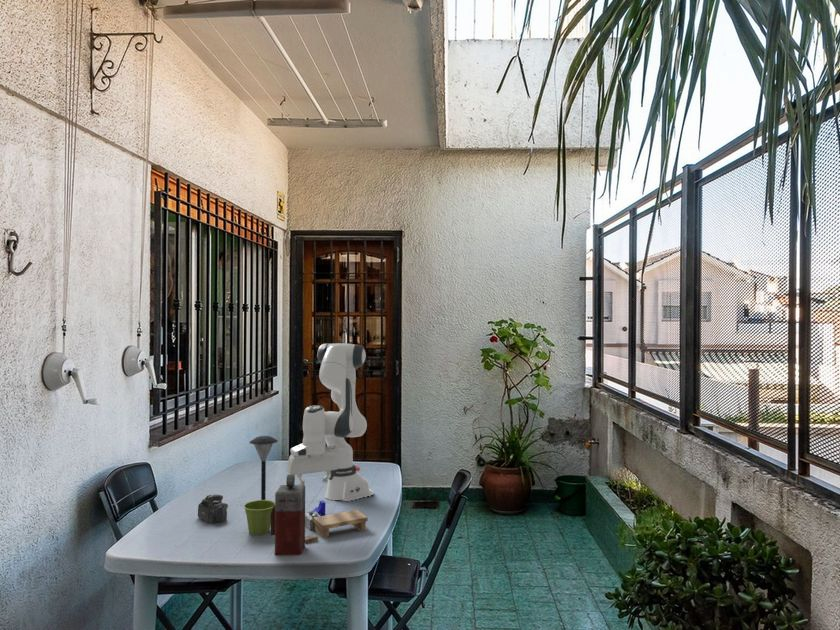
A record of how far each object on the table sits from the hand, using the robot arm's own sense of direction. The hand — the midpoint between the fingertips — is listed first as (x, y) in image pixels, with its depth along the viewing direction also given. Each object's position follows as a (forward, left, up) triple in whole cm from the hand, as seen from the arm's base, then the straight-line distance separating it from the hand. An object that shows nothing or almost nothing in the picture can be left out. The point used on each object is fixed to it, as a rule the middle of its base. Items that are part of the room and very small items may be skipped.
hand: (313, 483), depth 227 cm
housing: (0, 0, -18) cm, 18 cm away
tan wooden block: (+7, +15, -18) cm, 24 cm away
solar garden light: (+10, -35, -18) cm, 40 cm away
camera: (+32, -29, -18) cm, 47 cm away
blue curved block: (-3, -13, -18) cm, 22 cm away
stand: (-7, +10, -17) cm, 21 cm away
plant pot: (+20, -4, -18) cm, 27 cm away
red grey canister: (+17, +20, -18) cm, 32 cm away
